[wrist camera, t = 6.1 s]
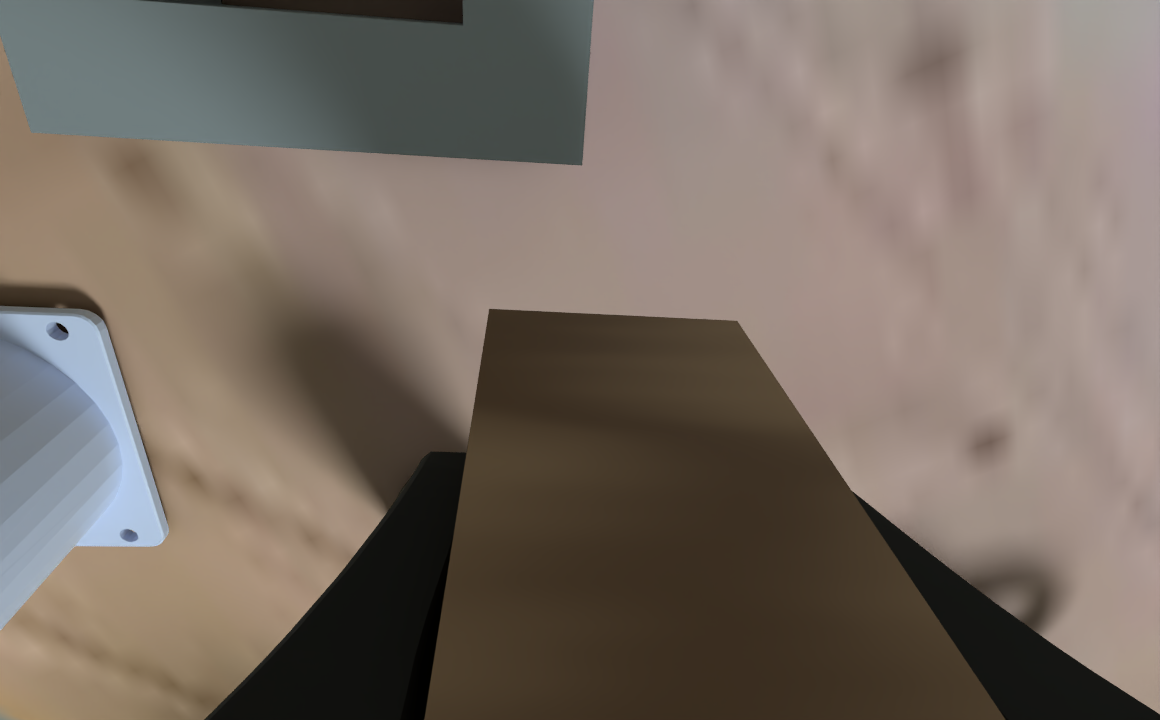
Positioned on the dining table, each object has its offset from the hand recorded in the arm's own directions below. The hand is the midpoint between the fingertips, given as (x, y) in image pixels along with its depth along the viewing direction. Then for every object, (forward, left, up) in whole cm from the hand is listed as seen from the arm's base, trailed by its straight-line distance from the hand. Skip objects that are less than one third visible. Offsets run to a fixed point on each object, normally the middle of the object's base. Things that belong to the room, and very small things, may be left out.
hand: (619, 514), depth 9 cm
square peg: (0, 0, -2) cm, 2 cm away
